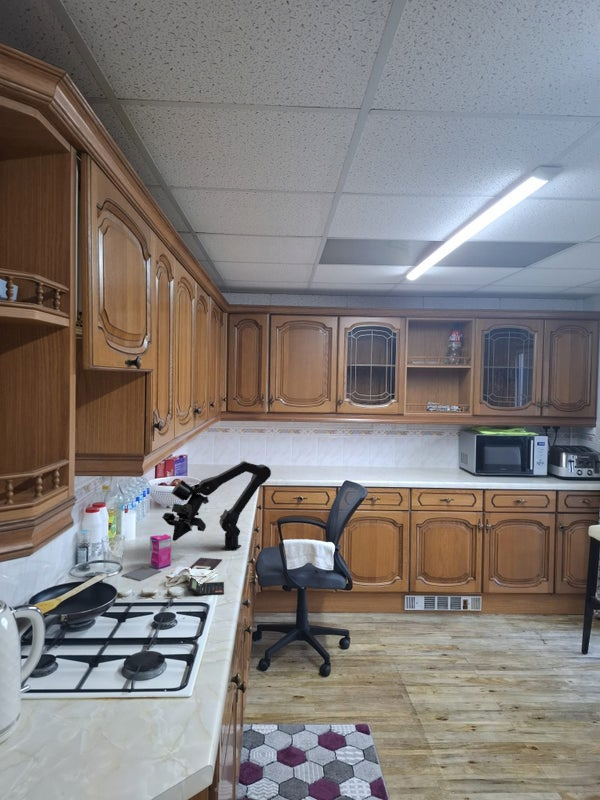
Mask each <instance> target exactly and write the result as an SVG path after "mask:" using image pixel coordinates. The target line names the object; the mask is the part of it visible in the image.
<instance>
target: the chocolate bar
mask: <svg viewBox="0 0 600 800" xmlns="http://www.w3.org/2000/svg"><path fill="white" fill-rule="evenodd" d="M222 561H223V559H222V558H212V557H207V558H206V557H199V558H198V559H197V560H196V561H195V562H193V564H192V565H191V566H189V568H191V569H206V570H213V569H214V570H215V569H217V566H219V564H220V563H222ZM214 570H213V571H214Z"/></svg>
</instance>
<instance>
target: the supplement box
mask: <svg viewBox="0 0 600 800" xmlns="http://www.w3.org/2000/svg"><path fill="white" fill-rule="evenodd" d="M171 549H172V537H171V535H168V534H166V533H163V532H162V533H158V534H154V535H151V536H149V566H150V567H151V568H154V569H156V570H161V569H165V568H167V567H171V566H172V561H171V560H172V559H171V558H172V553H171V552H172V551H171Z"/></svg>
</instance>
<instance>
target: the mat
mask: <svg viewBox="0 0 600 800" xmlns="http://www.w3.org/2000/svg"><path fill="white" fill-rule="evenodd" d="M161 572H162V570H161V569H157V568H153V567H151V568H150V567H147V566H140V567H138V568H136V569H133V570H131V571H129V572H126V573H123V574H122V575H121V577H124V578H129V579H132V580H136V581H140V582H141V581H144V580H147V579H148V578H150V577H153V576H154V575H157V574H160V573H161Z"/></svg>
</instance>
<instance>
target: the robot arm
mask: <svg viewBox="0 0 600 800" xmlns="http://www.w3.org/2000/svg"><path fill="white" fill-rule="evenodd" d="M244 473H249V474H251V475H252V476H251V478H250V481H249V483H247V485H246V487H245V488H244V490H243V491H242V493H241V494H240V495H239V497H238V498H237V500H236V501H235V503H234V504H233V506H232V507H231V508H230V509H229V510H228V509H224V511H223V513H222V514H221V515H220V516H219V518H220V519H219V526H220V528H221V529H222V530H223V531H224V532H225V533H224V546H222V547H221V549H222V550H227V549H228V551H236V550H238V549H240V548H241V547H242V544H239V536H240V534H241V529H240V528H239V527H238V525H237V524H238V522H239V518H240V516H241V514H242V512H243V510H244V509H245V508H246V506H247V504H248V503H249V502H250V500H251V499H252V497H253V496H254V495H255V493H256V492H257V490H258V489H259V487H260V486H262V485H263V484H264V483H266V481H267V480H269V478H271V475H272V471H271V468H270V467H269V466H267V465H265V464H262V463H261V464H254V463H251V462H247V460H243V461H241V462H240V463H238V464H236V465H234V466H232V467H231V468H229V469H227V470H226V471H223V472H222V473H220V474H218V475H214V476H210V477H207V478H204V479H201V481H199V483H196V484H193V485H190V484H189V483H186V481H184V480H183V479H181V480H180V481H179V482H178V483H177V484H176V485H175V486H174V488H173V489H172V491H171V494H172V495H173V496H175V497H176V498H177V499H180V500H181V501H182V502H184V501H187V502H186V503H184V504H179V503H173V506H172V508H171V512H174V513H175V514H176V515H175V514H174V513H171V512H164V514H163V516H162V517H161V518H162V519H163V520H164V522H166V524H168V526H172V527H174V528H173V534H172V537H171V541H174V542H176V541H177V540H179V539H180V538H181V537H183V536H184V535H185V534H187V533H189V532H192V531H193V527H196V528H197V531H200V532H205V530H206V528H207V525H206V523H205V522H204V520H203V519H202V518H201V517H197V516H199V515H200V513H199V510H200V509H201V507H202V505H206V504H208V503H209V502H210V500H209V498H208V496H210V495H211V494H213V493H214V492H216V490H218V488H220V487H221V486H222V485H223V484H225V483H228V482H230V481H231V480H233V479H234V478H236V477H238V476H240V475H242V474H244Z"/></svg>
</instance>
